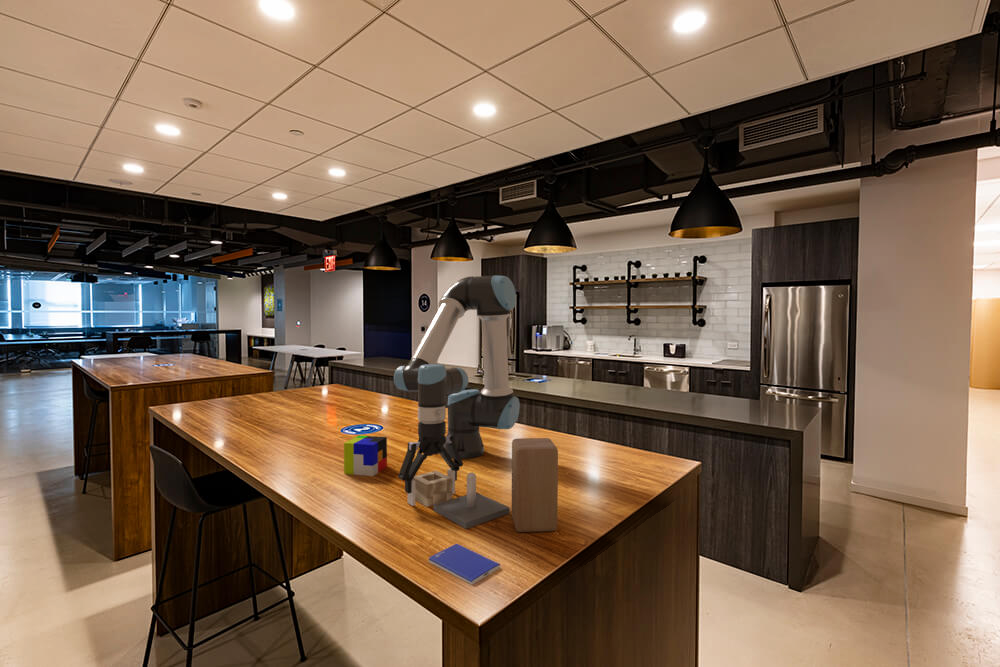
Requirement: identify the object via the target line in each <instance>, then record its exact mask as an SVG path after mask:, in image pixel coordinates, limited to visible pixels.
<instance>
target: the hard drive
mask: <svg viewBox="0 0 1000 667" xmlns="http://www.w3.org/2000/svg"><path fill="white" fill-rule="evenodd" d="M428 563H429V564H431V565H433V566H434V567H437V568H438V569H441V570H442V571H445V572H447V573H448V574H450V575H452V576H454V577H456V578H458V579H460V580H461V581H464V582H465V583H468V584H469V585H471V586H472V585H474V584H476V583H478V582H479V581H480V580H482V579H484V578H486V577H487V576H490V574H492V573H494V572H495V571H497V570H499V569H500V568H501V564H500V563H499V562H497V561H494V560H492V559H490V558H488V557H485V556H484V555H482V554H480V553H478V552H475V551H473V550H471V549H469V548H467V547H465V546H463V545H461V544H458V543H454V544H452V545H451V546H449V547H447V548H445V549H442V550H440V551H438V552H437V553H435V554H433V555H431V556H430V557H429V558H428Z"/></svg>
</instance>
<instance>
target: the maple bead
mask: <svg viewBox="0 0 1000 667" xmlns="http://www.w3.org/2000/svg"><path fill="white" fill-rule="evenodd" d="M413 480H414V481H415V502H418V503H419V504H421V505H423V506H425V507H427V508H429V507H433V505H435V504H438V503H441V502H445V501H448V500H451V499H453V494H452V478H451V477H449V476H447V474H444V473H442V472H440V471H437V470H433V471H430V472H425V473H422V474H418V475H417V474H416V475H415V476H414V478H413Z"/></svg>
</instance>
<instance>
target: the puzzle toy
mask: <svg viewBox="0 0 1000 667" xmlns="http://www.w3.org/2000/svg"><path fill="white" fill-rule="evenodd" d="M387 442H388V437H387V436H378V435H377V436H376V435H375V436H374V435H360V434H359V435H357V436H356V437H353V438H351V439H349V440H348V441H345V442H343V462H344V463H343V473H344V475H357V476H366V477H367V476H368V477H374V476H375V475H377V474H378V473H379V472H381V471H382V470H384V469H386V468H387V467H388V447H387V446H388V443H387Z"/></svg>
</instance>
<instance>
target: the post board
mask: <svg viewBox="0 0 1000 667" xmlns="http://www.w3.org/2000/svg"><path fill="white" fill-rule="evenodd" d="M432 507H433V511H434V512H435V513H438V515H440V516H442V517H444V518H446V519H448V520H449V521H451V522H453V523H455V524H456V525H458V526H460V527H461V528H463V529H465V530H467V529H470V528H472V527H475V526H478V525H480V524H484V523H486V522H489V521H491V520H494V519H497V518H500V517H503V516H506V515H508V514H510V512H511V511H510V507H509V506H508V505H506V504H503V503H501V502H500V501H497V500H495V499H493V498H491V497H488V496H485V495H484V494H482V493H479V492H477V476H476V474H475V473H474V472H468V473H467V475H466V494H465V495H463V496H462V495H461V496H459V497H455V498H452V499H451V500H448V501H445V502H441V503H438V504H435V505H432Z"/></svg>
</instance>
